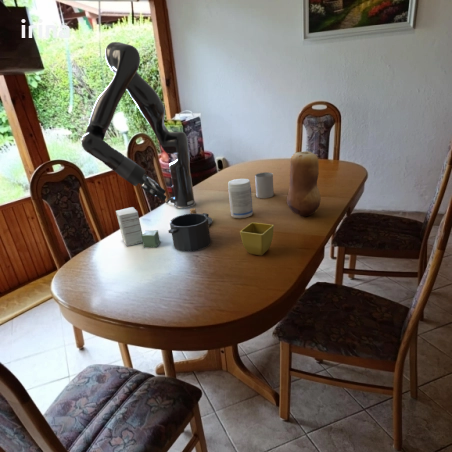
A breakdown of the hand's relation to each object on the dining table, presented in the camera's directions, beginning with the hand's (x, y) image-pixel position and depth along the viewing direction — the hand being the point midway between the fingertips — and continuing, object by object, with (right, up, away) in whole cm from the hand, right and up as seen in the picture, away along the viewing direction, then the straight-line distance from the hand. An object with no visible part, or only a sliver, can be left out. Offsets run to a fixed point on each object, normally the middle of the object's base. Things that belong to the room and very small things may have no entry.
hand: (164, 196), depth 162 cm
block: (-4, -21, -7) cm, 22 cm away
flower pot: (+36, -25, -22) cm, 49 cm away
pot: (+12, -21, -9) cm, 26 cm away
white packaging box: (-12, -19, -1) cm, 22 cm away
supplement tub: (+32, -5, +12) cm, 34 cm away
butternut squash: (+57, -7, +5) cm, 58 cm away
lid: (+12, -9, +8) cm, 17 cm away
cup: (+44, +9, +33) cm, 55 cm away
